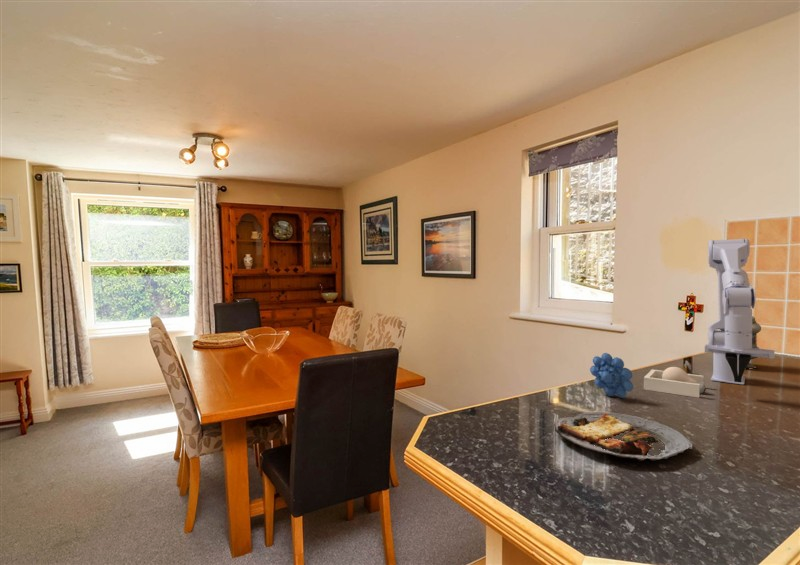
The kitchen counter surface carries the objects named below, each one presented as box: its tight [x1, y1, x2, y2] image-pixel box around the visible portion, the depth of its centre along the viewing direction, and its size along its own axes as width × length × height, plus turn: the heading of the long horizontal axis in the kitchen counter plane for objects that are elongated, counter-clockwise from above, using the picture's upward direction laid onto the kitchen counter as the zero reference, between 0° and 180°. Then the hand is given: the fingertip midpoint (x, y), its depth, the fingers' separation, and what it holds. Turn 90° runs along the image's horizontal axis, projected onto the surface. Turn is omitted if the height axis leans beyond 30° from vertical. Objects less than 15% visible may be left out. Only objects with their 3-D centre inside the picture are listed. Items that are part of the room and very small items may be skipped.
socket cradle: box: [643, 368, 705, 399], centre depth 121 cm, size 12×13×4 cm
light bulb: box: [662, 366, 707, 394], centre depth 119 cm, size 7×7×11 cm
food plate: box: [553, 411, 694, 462], centre depth 85 cm, size 25×23×4 cm
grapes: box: [589, 352, 634, 399], centre depth 114 cm, size 12×7×12 cm, turn 39°
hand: (737, 381), depth 111 cm, fingers closed
